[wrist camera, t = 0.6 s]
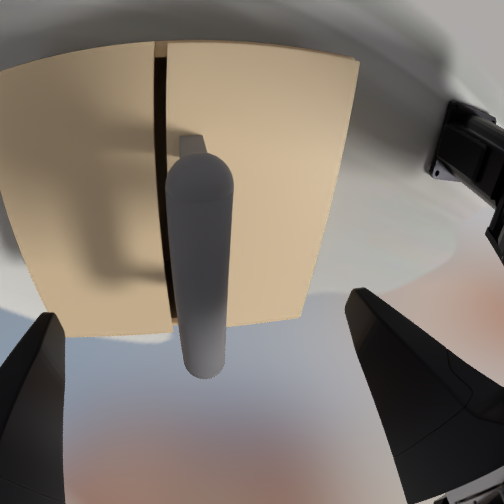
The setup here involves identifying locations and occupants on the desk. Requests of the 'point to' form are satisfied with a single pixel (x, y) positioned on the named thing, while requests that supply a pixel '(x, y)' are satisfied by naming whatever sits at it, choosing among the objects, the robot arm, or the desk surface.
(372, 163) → the desk surface
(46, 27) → the desk surface
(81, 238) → the kraft carton
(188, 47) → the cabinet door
